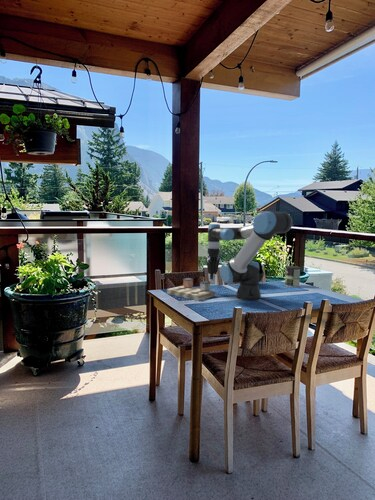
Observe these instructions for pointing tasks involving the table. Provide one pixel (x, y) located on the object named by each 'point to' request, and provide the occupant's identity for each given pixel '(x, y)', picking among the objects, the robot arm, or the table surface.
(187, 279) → the fader terracotta
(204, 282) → the fader grey
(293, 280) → the coffee can
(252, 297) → the robot arm
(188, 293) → the tan muffin tray
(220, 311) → the table surface
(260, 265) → the dark grey cylinder
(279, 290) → the table surface
